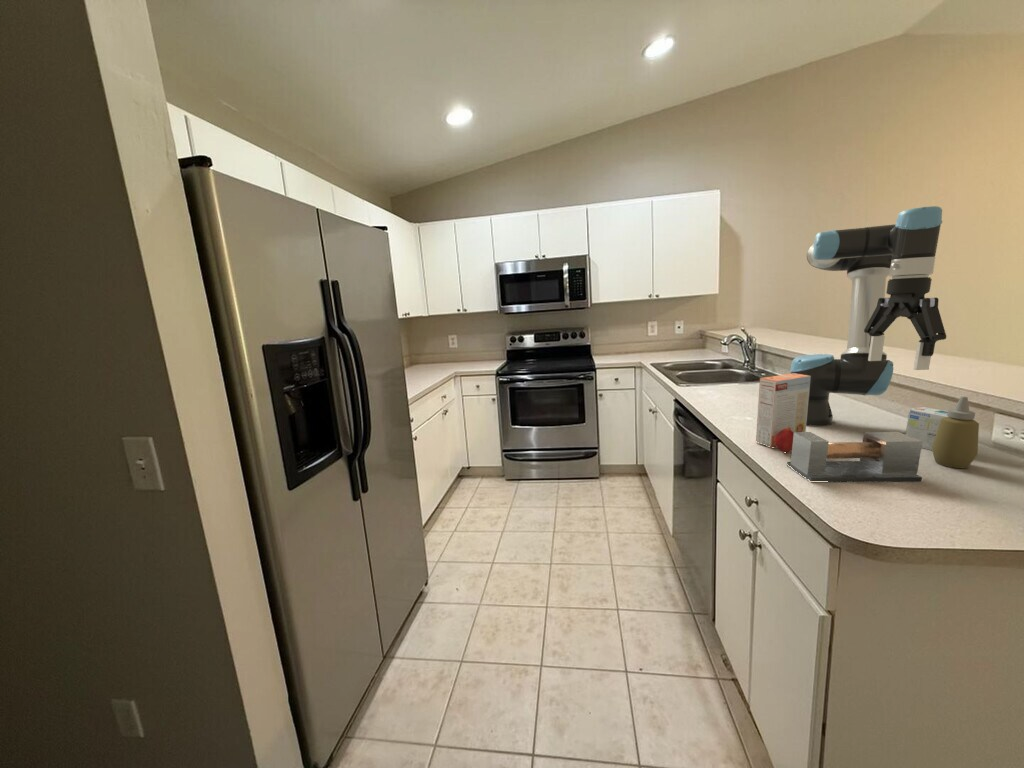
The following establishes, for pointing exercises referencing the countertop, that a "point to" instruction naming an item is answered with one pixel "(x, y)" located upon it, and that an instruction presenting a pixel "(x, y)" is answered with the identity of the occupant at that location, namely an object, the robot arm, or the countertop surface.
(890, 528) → the countertop surface
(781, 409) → the cracker box
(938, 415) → the light bulb box
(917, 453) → the jig
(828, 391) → the robot arm
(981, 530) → the countertop surface
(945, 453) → the squeeze bottle
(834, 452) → the copper tube
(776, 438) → the red round fruit
